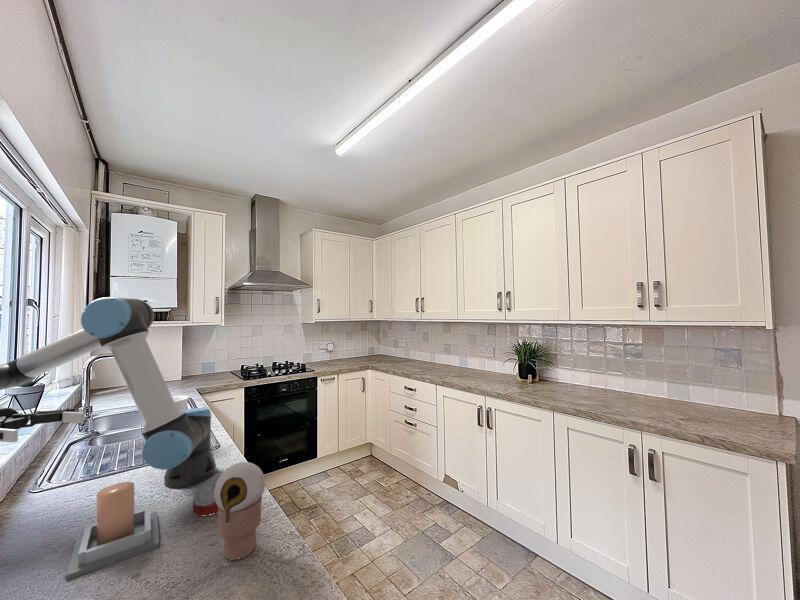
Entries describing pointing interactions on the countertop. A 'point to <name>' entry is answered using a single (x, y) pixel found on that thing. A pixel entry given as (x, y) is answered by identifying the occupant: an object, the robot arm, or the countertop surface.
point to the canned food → (206, 497)
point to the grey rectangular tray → (113, 545)
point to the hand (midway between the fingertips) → (51, 426)
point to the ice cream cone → (239, 507)
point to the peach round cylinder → (115, 512)
